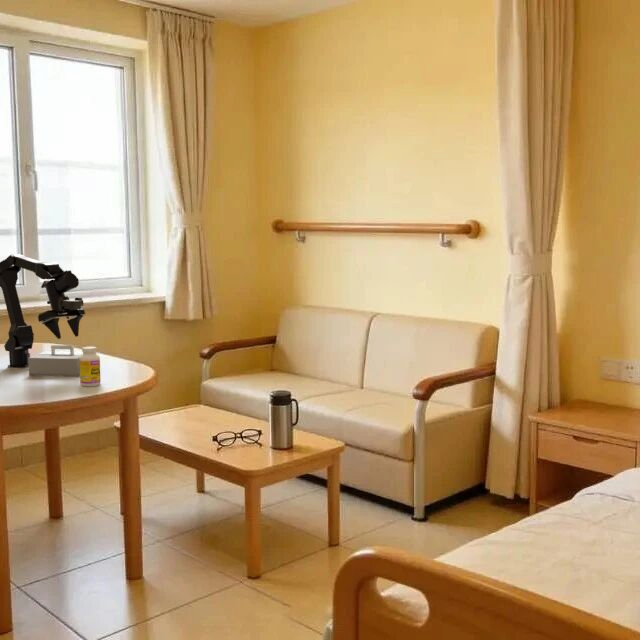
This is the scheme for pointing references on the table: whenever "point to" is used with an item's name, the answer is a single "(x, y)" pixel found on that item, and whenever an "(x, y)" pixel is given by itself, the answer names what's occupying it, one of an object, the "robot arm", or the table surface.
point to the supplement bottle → (89, 367)
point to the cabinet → (54, 365)
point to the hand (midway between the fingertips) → (68, 337)
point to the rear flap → (61, 351)
